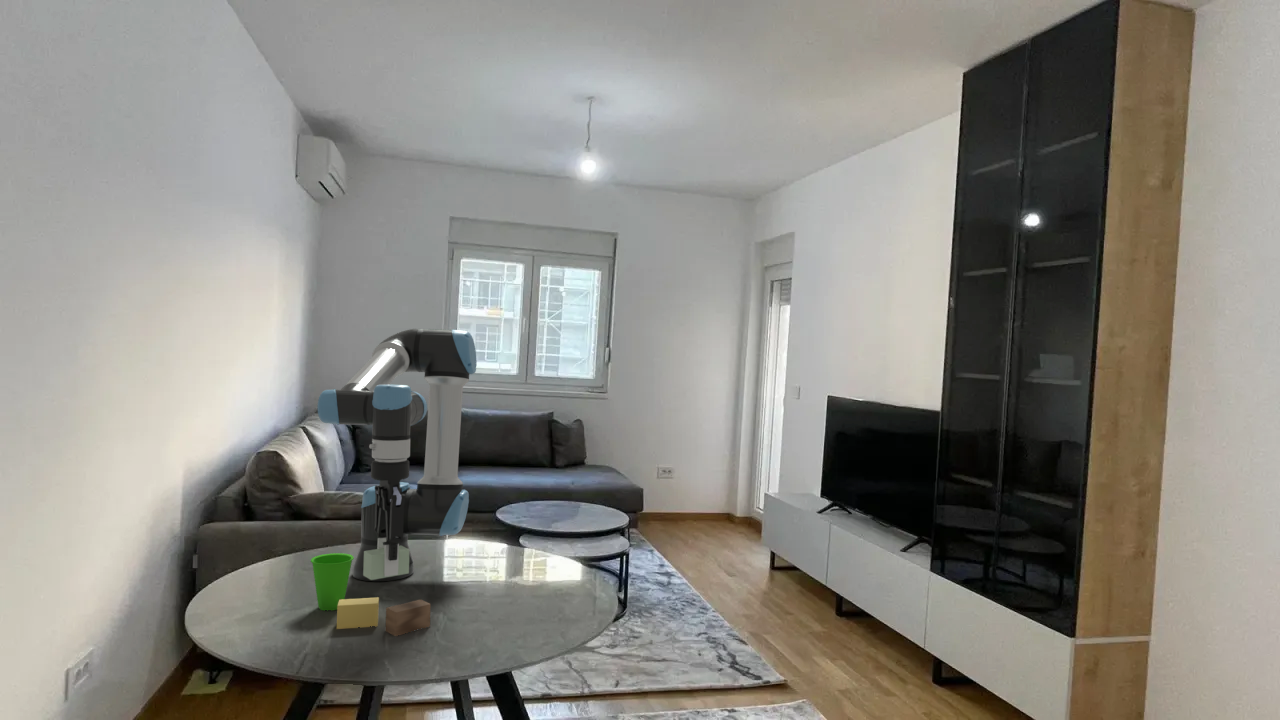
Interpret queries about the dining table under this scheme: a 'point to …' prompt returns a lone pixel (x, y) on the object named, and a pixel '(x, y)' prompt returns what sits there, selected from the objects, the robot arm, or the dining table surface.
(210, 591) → the dining table surface
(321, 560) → the cup
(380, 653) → the dining table surface
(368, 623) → the mustard brick
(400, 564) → the sage brick
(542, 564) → the dining table surface
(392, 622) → the walnut brick
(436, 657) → the dining table surface
